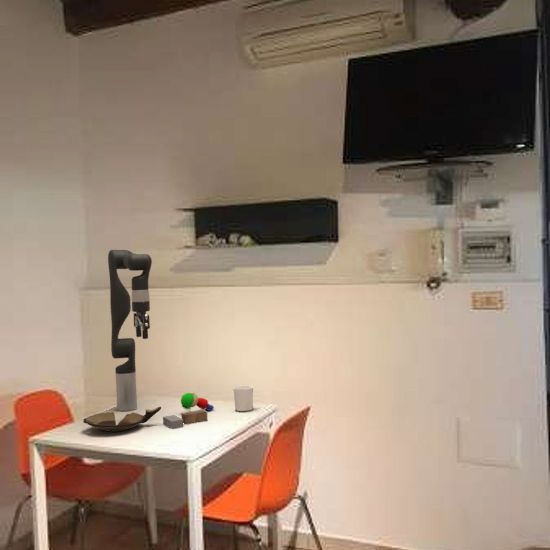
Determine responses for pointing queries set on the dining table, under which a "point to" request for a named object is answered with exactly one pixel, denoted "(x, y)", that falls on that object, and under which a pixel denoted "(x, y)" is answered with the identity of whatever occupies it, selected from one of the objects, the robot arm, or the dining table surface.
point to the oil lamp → (130, 420)
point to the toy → (194, 402)
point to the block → (194, 417)
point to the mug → (243, 398)
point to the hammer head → (173, 421)
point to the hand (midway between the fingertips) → (142, 337)
